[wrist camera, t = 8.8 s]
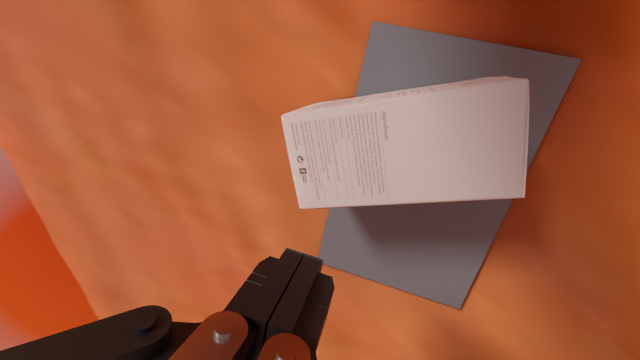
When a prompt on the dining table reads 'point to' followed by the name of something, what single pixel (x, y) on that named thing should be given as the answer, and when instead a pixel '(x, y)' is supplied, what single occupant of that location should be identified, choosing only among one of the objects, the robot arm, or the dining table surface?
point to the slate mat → (442, 217)
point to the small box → (412, 145)
